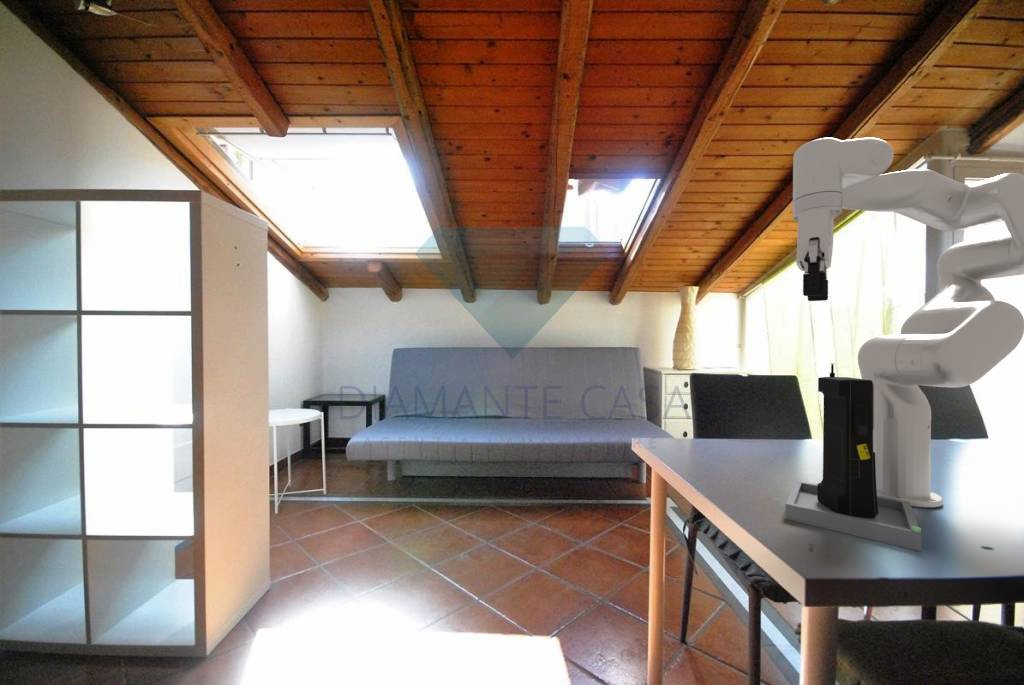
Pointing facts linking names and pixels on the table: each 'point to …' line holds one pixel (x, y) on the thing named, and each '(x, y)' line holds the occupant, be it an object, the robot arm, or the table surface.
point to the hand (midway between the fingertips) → (815, 298)
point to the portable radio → (848, 447)
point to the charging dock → (857, 518)
